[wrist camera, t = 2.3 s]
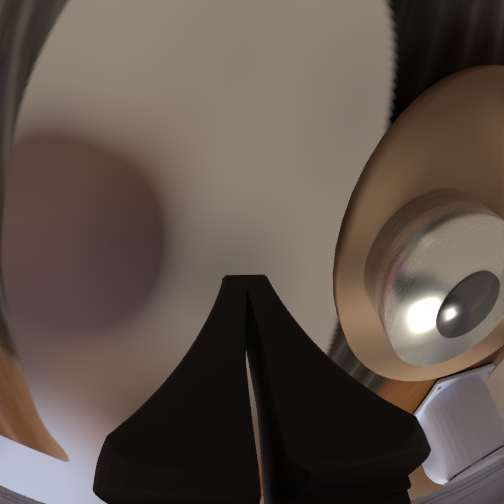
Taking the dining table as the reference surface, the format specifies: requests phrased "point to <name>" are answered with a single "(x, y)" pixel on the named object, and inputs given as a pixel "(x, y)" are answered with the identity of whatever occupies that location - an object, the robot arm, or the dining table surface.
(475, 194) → the turntable
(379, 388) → the dining table surface
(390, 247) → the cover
